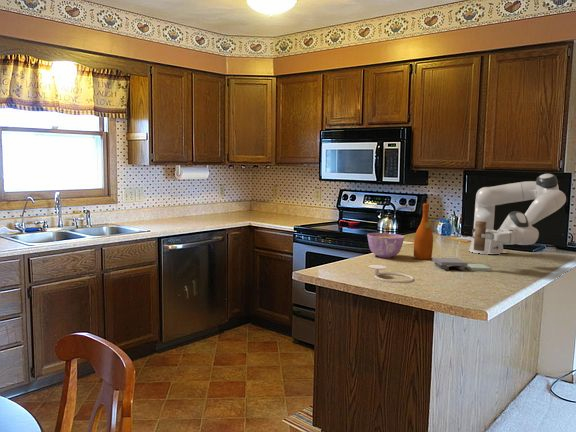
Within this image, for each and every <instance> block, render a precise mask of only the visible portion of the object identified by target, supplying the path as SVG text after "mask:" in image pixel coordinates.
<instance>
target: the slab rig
mask: <svg viewBox="0 0 576 432" xmlns="http://www.w3.org/2000/svg"><path fill="white" fill-rule="evenodd" d="M431 259H432V260H431V261H432V262H434V265H435V266H437V267H439V268H440V269H442V270H444V272H445V271H449V270H450V269H449V267H450V266H451V267H453V268H455V269H457V270H459V271H461V272H464V271H465V270H466V268H465V267H464V266H468V264H469V263H468V262H467V261H465V260H463V259H461V258H459V257H435V256H434V257H433V256H432V258H431Z"/></svg>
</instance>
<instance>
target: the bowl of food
mask: <svg viewBox="0 0 576 432" xmlns="http://www.w3.org/2000/svg"><path fill="white" fill-rule="evenodd" d="M366 236H367V241H368V247H369V249H370V252H371V253H372V254H374V256H375V255H376V257H379V258H386V259H390V258H393V257H394V256H395V257H396V255H398V254H399V253H400V252H401V250H402V247H403V244H404V241H405V236H404V235H402V234H395V233H388V232H387V233H386V232H370V233H367V234H366Z"/></svg>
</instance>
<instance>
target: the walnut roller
mask: <svg viewBox="0 0 576 432" xmlns="http://www.w3.org/2000/svg"><path fill="white" fill-rule="evenodd" d="M486 223H487V222H483V221H476V224H475V237H474V250H477V251H484V249H485V238H482V237H481V234H486Z"/></svg>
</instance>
